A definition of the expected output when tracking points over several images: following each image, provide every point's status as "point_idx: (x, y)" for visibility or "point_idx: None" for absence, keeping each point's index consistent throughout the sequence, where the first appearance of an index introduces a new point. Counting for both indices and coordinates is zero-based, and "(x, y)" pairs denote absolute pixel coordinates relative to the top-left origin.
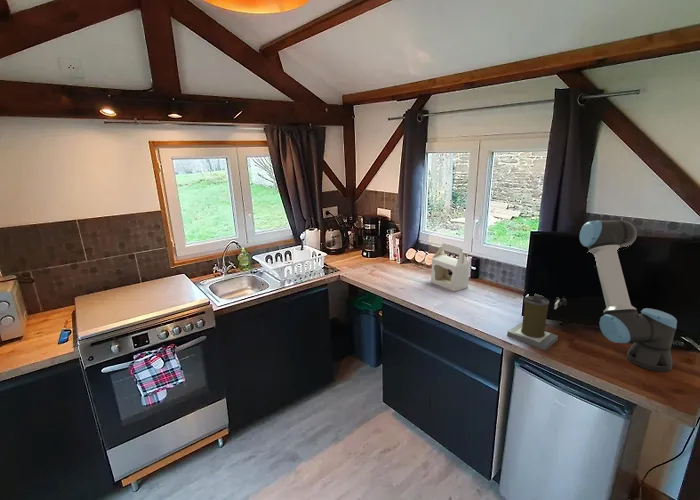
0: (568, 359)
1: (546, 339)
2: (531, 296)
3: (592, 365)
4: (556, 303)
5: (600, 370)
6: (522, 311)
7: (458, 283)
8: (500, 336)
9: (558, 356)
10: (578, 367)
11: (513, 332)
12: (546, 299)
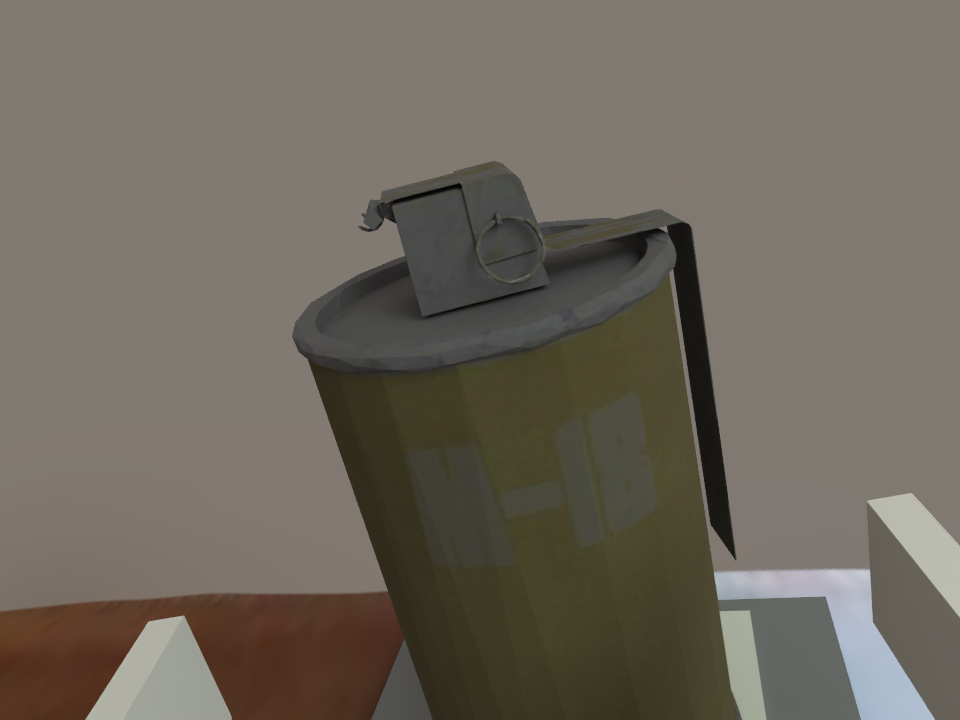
0: (249, 660)
1: (419, 717)
2: (612, 285)
3: (84, 702)
4: (136, 659)
5: (53, 679)
6: (717, 467)
7: None
8: (861, 595)
9: (320, 648)
10: (201, 618)
11: (764, 616)
12: (335, 345)
